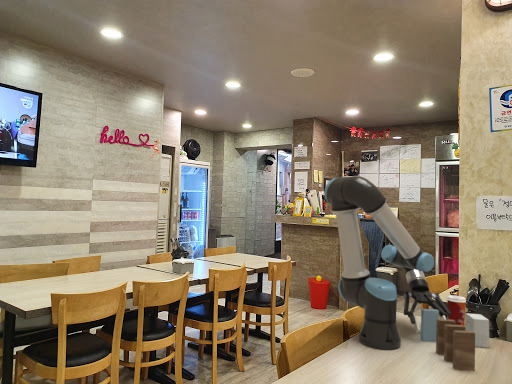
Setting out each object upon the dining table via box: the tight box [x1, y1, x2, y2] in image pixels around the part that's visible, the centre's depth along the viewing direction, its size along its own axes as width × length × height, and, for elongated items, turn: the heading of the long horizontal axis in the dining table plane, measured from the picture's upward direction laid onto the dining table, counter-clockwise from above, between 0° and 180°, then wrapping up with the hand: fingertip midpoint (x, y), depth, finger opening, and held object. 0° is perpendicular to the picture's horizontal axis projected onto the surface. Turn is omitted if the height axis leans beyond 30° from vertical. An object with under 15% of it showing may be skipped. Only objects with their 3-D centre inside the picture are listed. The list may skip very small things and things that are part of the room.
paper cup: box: [446, 294, 467, 327], centre depth 160 cm, size 8×8×14 cm
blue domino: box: [420, 308, 440, 343], centre depth 145 cm, size 2×6×12 cm, turn 88°
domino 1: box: [435, 318, 456, 356], centre depth 133 cm, size 2×6×12 cm, turn 89°
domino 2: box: [443, 325, 466, 363], centre depth 127 cm, size 2×6×12 cm, turn 88°
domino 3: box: [452, 330, 476, 372], centre depth 121 cm, size 2×6×12 cm, turn 89°
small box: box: [465, 312, 490, 349], centre depth 144 cm, size 8×6×10 cm
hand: (433, 332), depth 143 cm, fingers open, 11 cm apart
